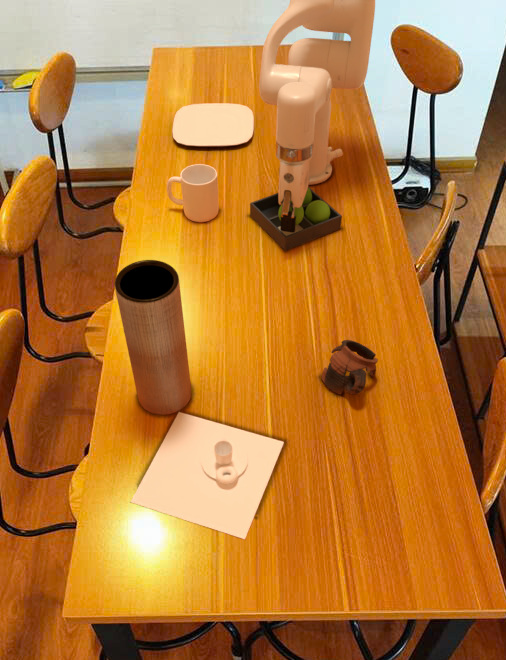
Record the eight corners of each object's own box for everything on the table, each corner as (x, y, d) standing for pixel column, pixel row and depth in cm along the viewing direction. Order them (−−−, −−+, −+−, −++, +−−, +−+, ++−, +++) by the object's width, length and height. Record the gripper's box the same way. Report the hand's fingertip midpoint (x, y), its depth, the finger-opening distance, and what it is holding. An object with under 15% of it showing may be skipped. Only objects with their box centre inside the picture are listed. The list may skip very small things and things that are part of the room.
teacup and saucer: (236, 491, 114) (236, 477, 111) (192, 477, 116) (190, 464, 112) (254, 450, 119) (254, 436, 116) (211, 437, 121) (210, 423, 118)
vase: (192, 413, 124) (179, 299, 103) (137, 417, 124) (113, 303, 102) (190, 372, 130) (178, 256, 109) (138, 376, 130) (115, 261, 109)
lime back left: (302, 197, 164) (303, 176, 160) (315, 209, 161) (317, 188, 157) (282, 204, 163) (283, 184, 158) (295, 217, 160) (297, 196, 155)
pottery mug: (312, 368, 131) (331, 331, 127) (353, 379, 135) (373, 344, 131) (331, 404, 122) (353, 366, 118) (375, 415, 125) (397, 378, 121)
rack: (303, 196, 166) (304, 182, 163) (340, 228, 158) (341, 215, 155) (250, 215, 161) (249, 202, 158) (284, 251, 153) (285, 237, 150)
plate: (253, 150, 179) (253, 144, 178) (170, 151, 179) (169, 145, 178) (253, 108, 193) (253, 102, 191) (176, 109, 193) (175, 103, 192)
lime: (294, 213, 156) (295, 192, 152) (308, 226, 153) (309, 204, 149) (273, 221, 154) (273, 200, 150) (286, 234, 151) (287, 213, 147)
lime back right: (320, 213, 160) (321, 192, 156) (333, 225, 157) (336, 205, 153) (299, 221, 159) (301, 200, 154) (313, 233, 156) (315, 213, 151)
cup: (215, 224, 159) (213, 186, 151) (164, 219, 161) (160, 181, 153) (222, 203, 164) (220, 165, 157) (173, 199, 166) (169, 161, 158)
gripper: (304, 173, 133) (299, 248, 147) (320, 128, 144) (314, 203, 158) (266, 168, 135) (265, 243, 149) (285, 124, 145) (282, 198, 159)
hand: (290, 222), depth 153 cm, fingers closed on lime, 5 cm apart
